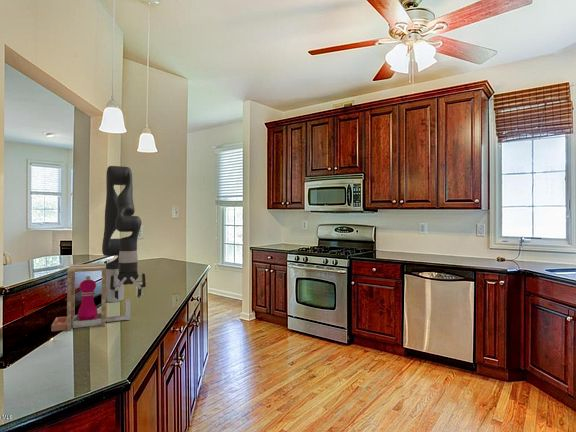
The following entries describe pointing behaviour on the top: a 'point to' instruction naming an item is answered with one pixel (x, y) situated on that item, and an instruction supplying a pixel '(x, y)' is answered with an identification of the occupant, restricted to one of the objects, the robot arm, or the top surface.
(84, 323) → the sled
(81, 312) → the pepper mill
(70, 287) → the shelf tunnel
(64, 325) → the pit tray
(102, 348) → the top surface
